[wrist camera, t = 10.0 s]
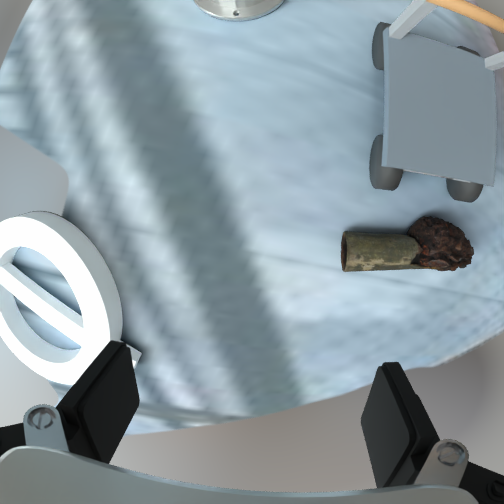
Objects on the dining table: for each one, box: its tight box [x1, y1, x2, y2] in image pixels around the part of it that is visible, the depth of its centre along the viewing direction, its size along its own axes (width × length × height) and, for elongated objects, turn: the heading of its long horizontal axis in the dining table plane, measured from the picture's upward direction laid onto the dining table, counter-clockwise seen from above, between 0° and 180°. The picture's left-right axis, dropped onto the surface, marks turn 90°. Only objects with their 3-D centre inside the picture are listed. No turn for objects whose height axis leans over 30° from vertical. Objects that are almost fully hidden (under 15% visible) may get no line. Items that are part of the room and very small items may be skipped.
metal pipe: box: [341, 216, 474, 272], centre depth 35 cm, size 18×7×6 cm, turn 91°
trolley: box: [369, 0, 504, 202], centre depth 24 cm, size 20×14×18 cm
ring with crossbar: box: [0, 211, 142, 384], centre depth 42 cm, size 28×28×5 cm
